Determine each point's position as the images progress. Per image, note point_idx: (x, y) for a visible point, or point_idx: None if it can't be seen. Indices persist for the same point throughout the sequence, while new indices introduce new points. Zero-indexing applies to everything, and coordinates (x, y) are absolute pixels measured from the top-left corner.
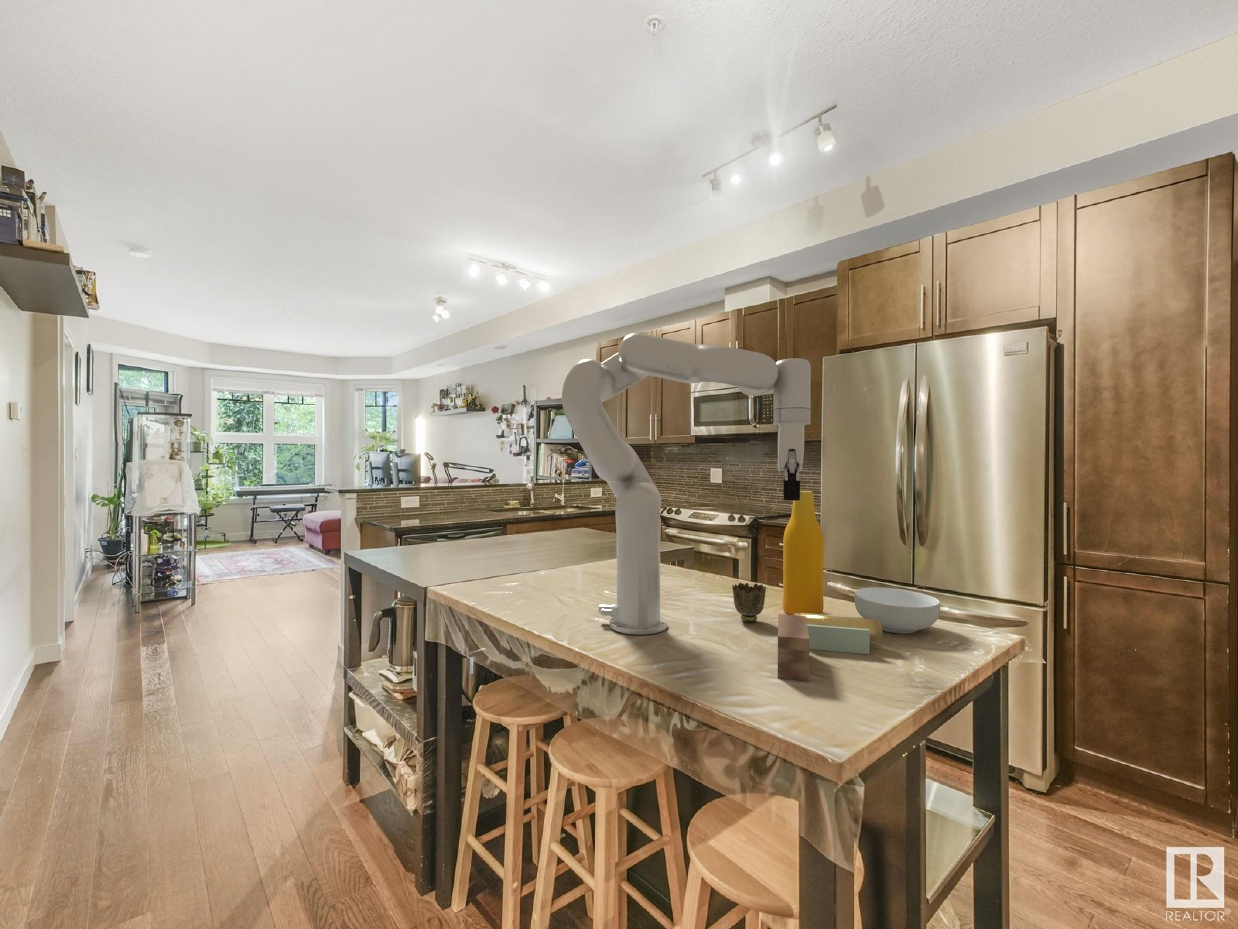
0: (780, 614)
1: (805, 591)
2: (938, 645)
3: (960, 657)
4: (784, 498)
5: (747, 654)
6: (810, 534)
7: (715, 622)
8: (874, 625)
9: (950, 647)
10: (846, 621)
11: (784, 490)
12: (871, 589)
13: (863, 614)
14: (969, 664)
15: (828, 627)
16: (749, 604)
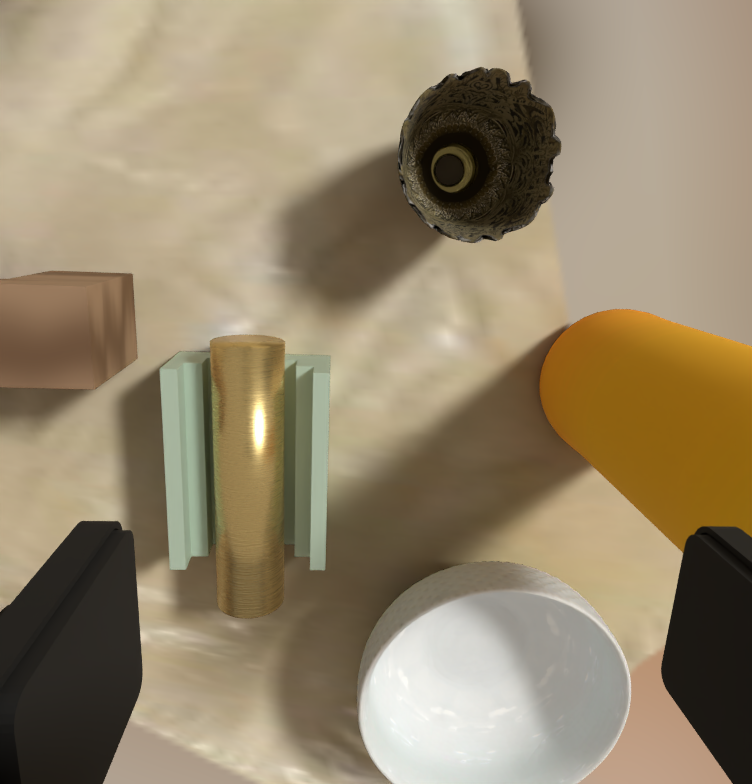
0: (81, 295)
1: (571, 411)
2: (329, 706)
3: (241, 732)
4: (76, 533)
5: (54, 168)
6: None
7: (405, 26)
8: (220, 591)
9: (319, 728)
10: (223, 516)
11: (25, 597)
12: (612, 649)
13: (433, 574)
14: (191, 738)
15: (164, 452)
16: (398, 166)
